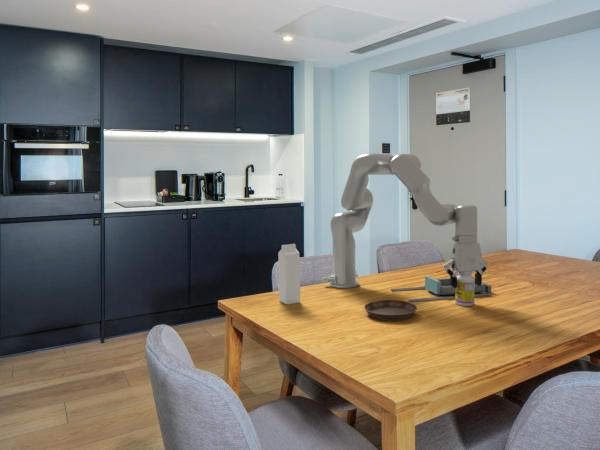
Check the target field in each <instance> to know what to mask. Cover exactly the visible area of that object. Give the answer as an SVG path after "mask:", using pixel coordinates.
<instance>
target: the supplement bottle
mask: <svg viewBox="0 0 600 450" xmlns="http://www.w3.org/2000/svg"><path fill="white" fill-rule="evenodd" d="M458 274H459V275H458ZM458 274H457V275H456V277H457V288H455V294H454V296H455V298H454V302H455V304H456V305H459V306H463V307H468V306H469V307H470V306H473V305H474V304H475V297H474V294H475V293H474V291H475V276H473V275H472V274H473V271H467V272H458Z"/></svg>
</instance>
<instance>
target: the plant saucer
mask: <svg viewBox="0 0 600 450" xmlns="http://www.w3.org/2000/svg"><path fill="white" fill-rule="evenodd" d="M363 308H364V310H365V311H366V312H367V314H368V315H369V316H370V317H371V318H373V319H376V320H380V321H387V322H388V321H392V322H395V321H404V320H408V319H409V318H411V317H412V316H413V315H414V314H415V313H416V311H417V310H418V309H417V308H418V307H417V306H416V304H414V303H412V302H409V301H406V300H405V301H404V300H398V299H397V300H396V299H381V300H374V301H371V302H368V303H366V304H365V305H364V307H363Z"/></svg>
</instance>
